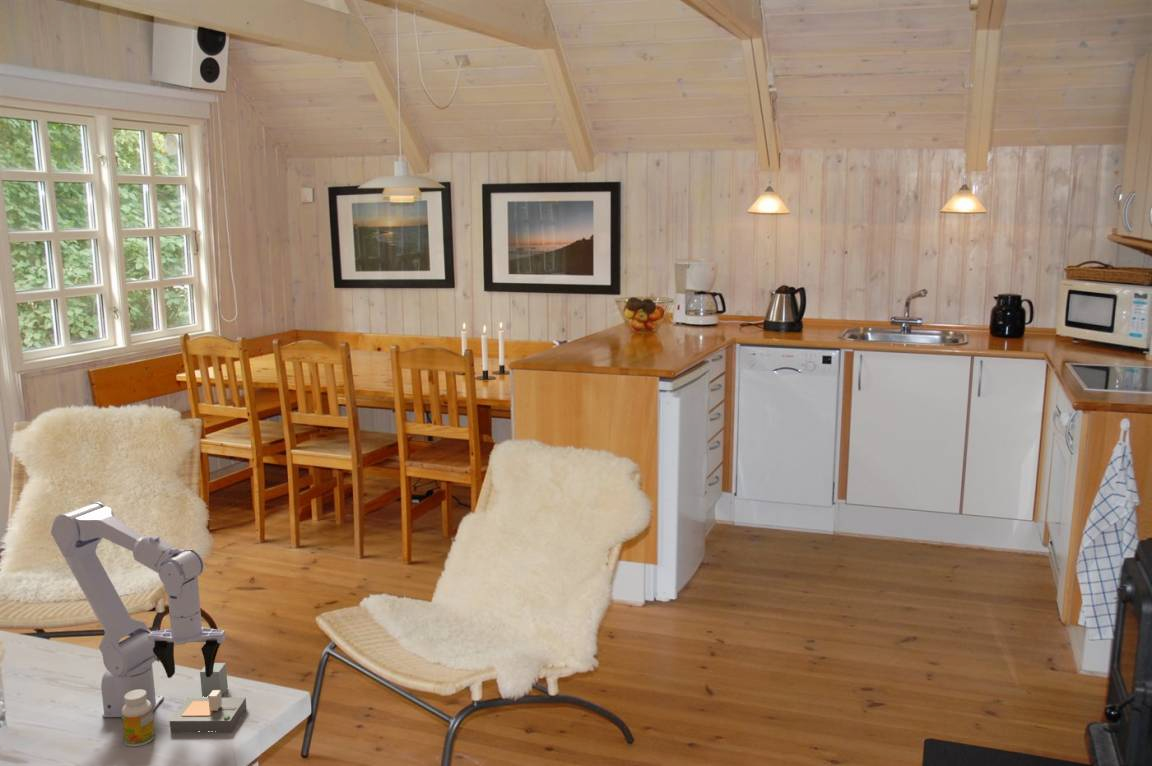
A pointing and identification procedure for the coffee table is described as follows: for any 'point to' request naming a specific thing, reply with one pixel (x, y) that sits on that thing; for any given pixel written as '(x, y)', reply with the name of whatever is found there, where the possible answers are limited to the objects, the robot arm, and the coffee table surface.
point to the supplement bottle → (137, 718)
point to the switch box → (207, 715)
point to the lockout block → (214, 680)
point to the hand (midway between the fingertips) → (190, 675)
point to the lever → (215, 700)
